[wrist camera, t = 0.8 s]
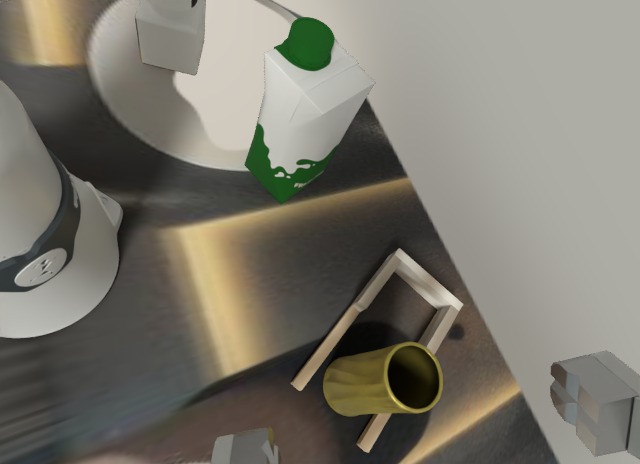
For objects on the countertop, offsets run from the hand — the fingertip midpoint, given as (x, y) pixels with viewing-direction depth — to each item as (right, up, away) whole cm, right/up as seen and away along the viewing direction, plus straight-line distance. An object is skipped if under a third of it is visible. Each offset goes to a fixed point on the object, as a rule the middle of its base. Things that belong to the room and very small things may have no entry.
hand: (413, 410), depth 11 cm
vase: (0, -12, +32) cm, 34 cm away
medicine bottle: (-23, +30, +43) cm, 57 cm away
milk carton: (-8, +13, +40) cm, 43 cm away
